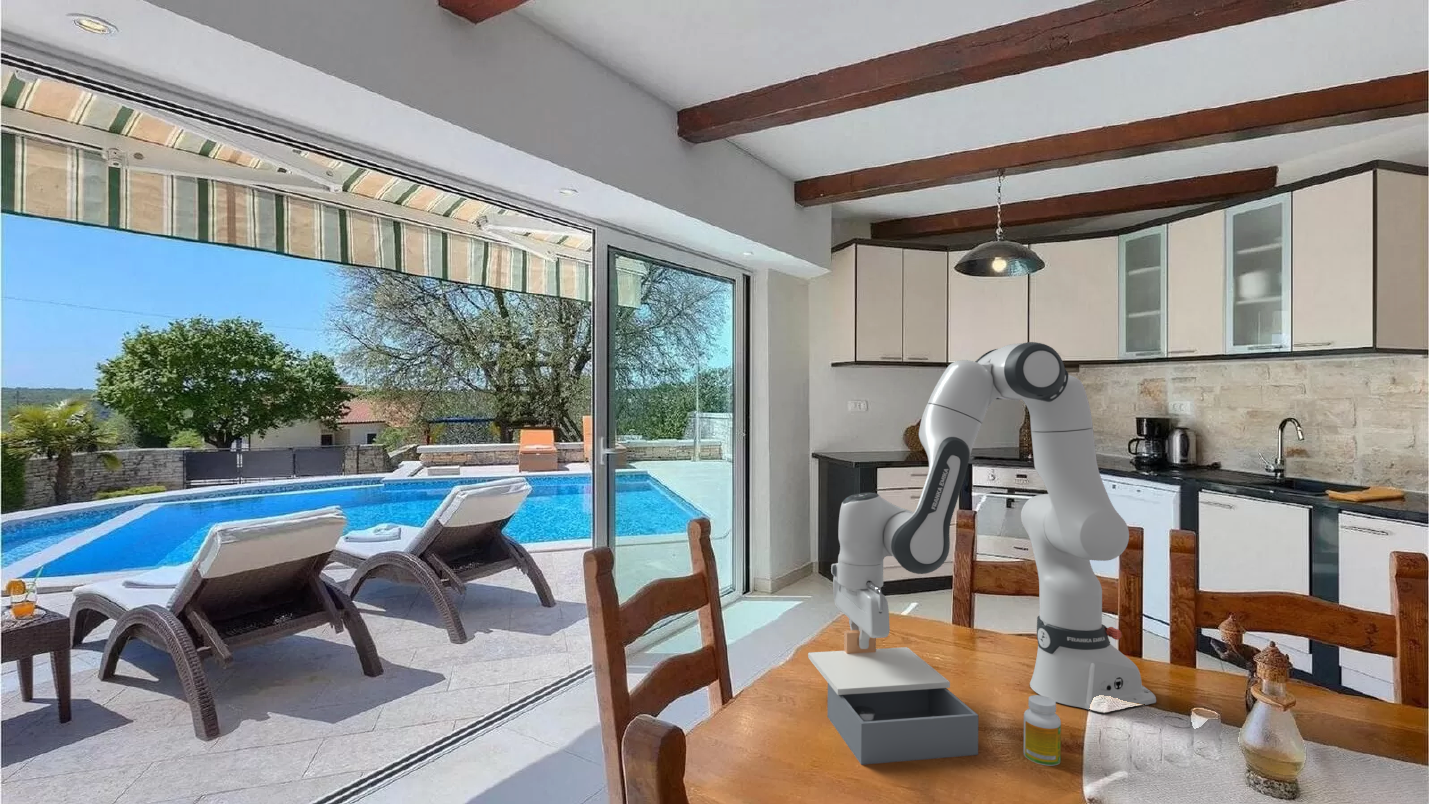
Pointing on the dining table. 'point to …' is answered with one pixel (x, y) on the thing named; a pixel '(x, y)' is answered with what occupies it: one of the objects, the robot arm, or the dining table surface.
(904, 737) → the tub
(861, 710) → the metal round part
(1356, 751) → the dining table surface
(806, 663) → the dining table surface
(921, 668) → the lid
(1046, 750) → the supplement bottle
